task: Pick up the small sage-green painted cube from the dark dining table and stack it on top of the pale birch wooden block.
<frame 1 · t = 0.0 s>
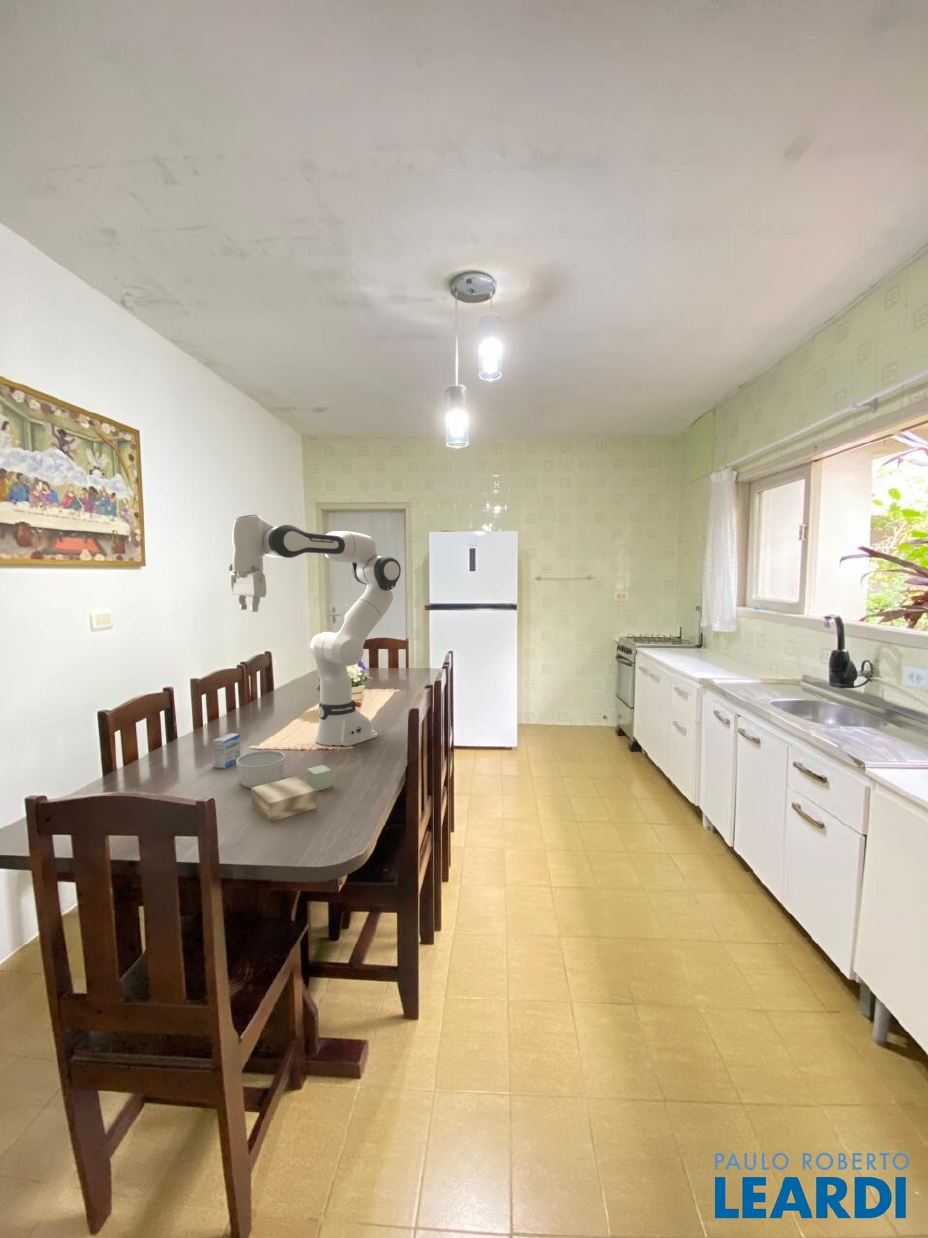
hand: (248, 610, 163), 48 cm above the table, fingers open, 8 cm apart
medicine box: (226, 764, 162), on the table
ramekin: (261, 781, 150), on the table
sage cube: (319, 786, 147), on the table
birch block: (283, 807, 134), on the table
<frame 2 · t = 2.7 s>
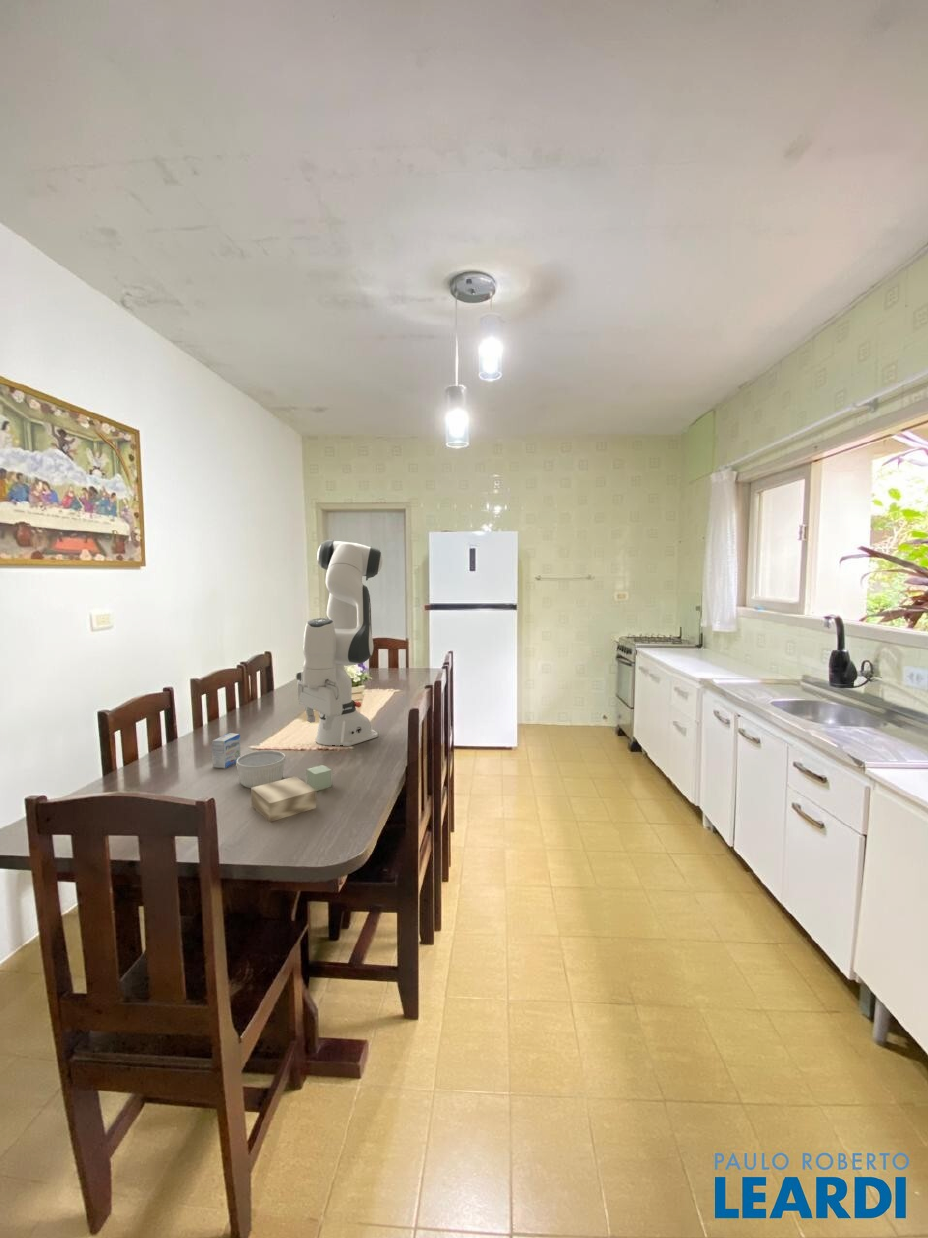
hand: (319, 725, 145), 18 cm above the table, fingers open, 8 cm apart
nothing on the table moved.
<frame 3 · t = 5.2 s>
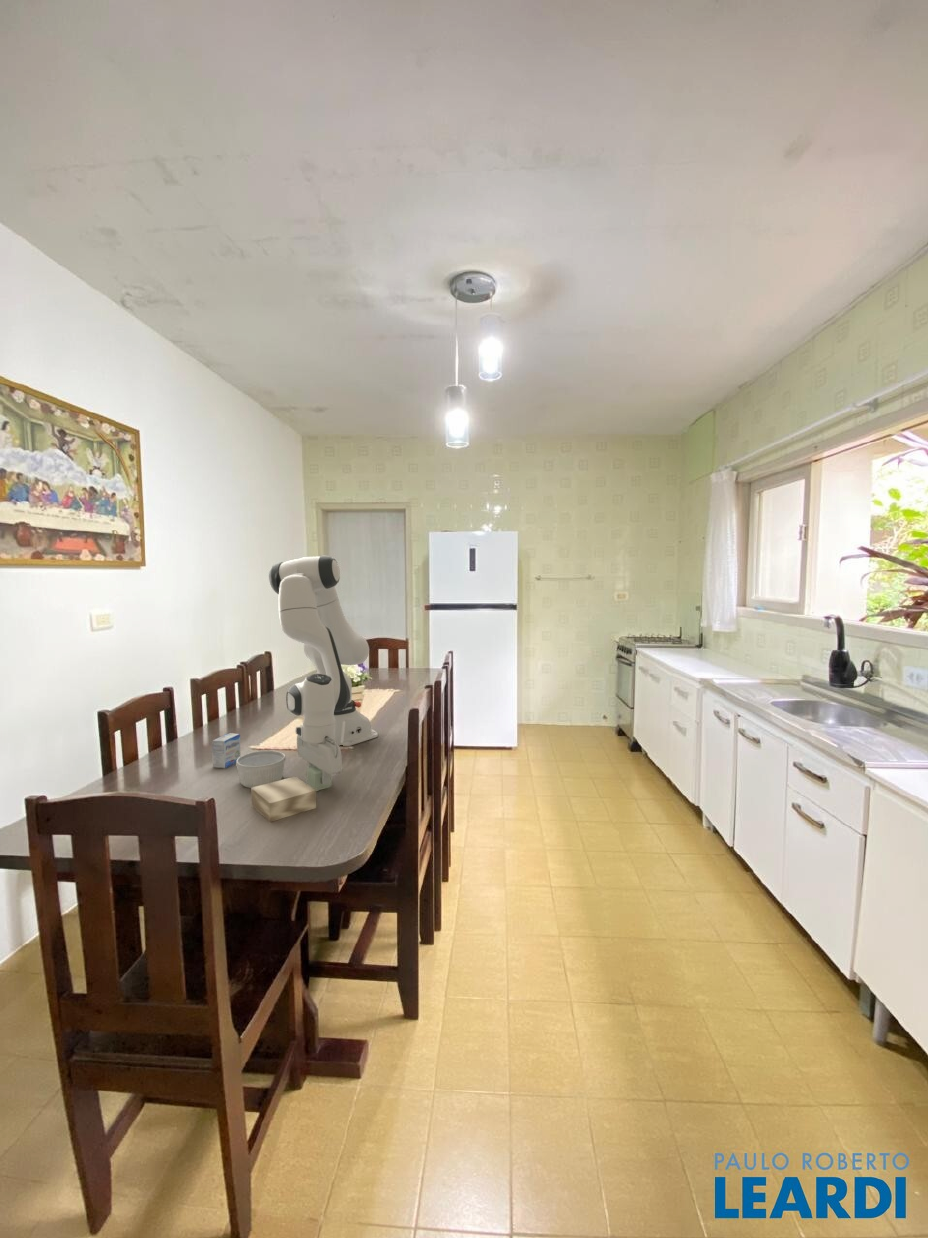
hand: (319, 780, 147), 2 cm above the table, fingers closed on sage cube, 5 cm apart
sage cube: (319, 786, 147), on the table, touching gripper
everything else where it was.
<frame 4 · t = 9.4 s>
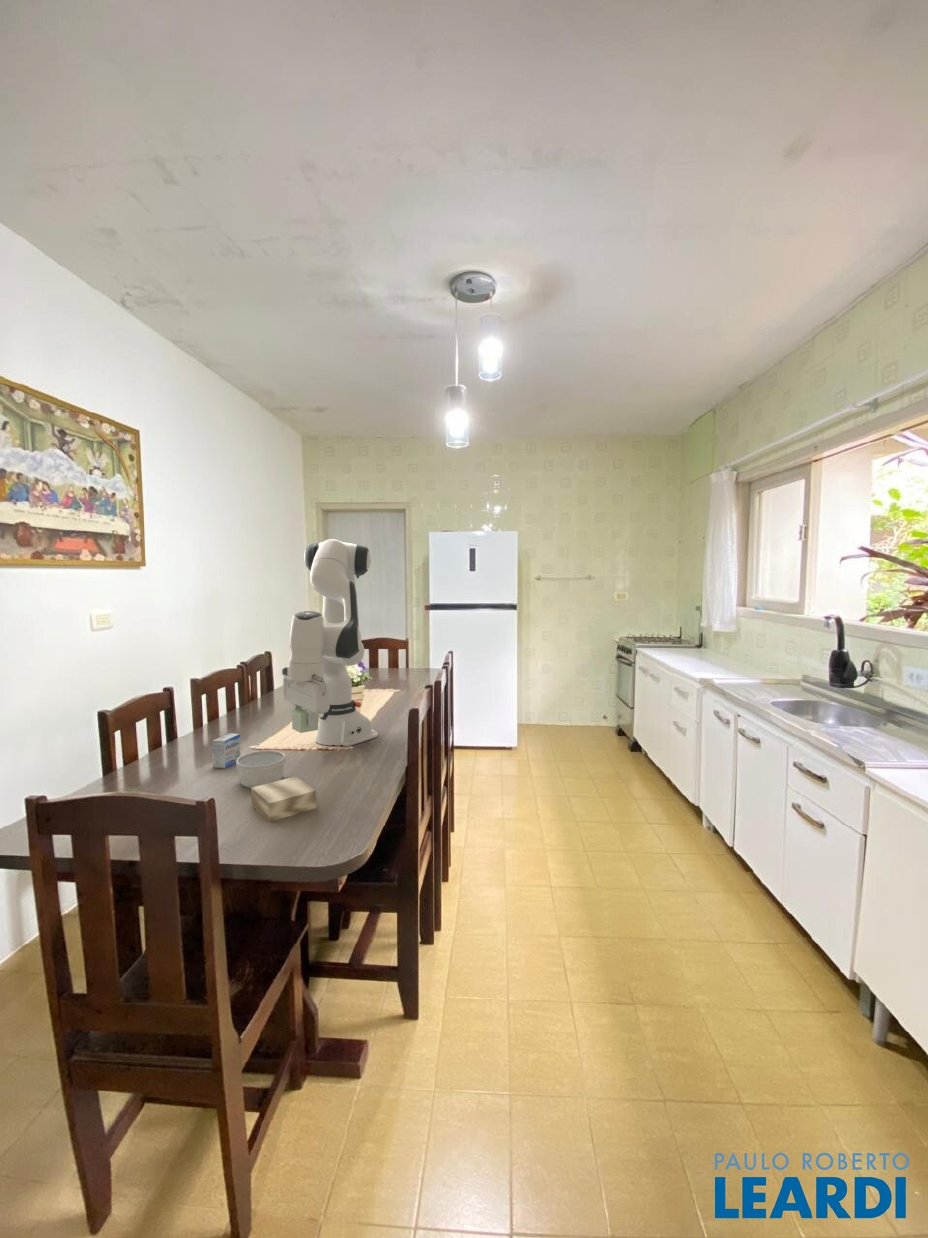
hand: (305, 723, 139), 20 cm above the table, fingers closed on sage cube, 5 cm apart
sage cube: (305, 729, 139), point 18 cm above the table, touching gripper
everything else where it was.
when the fingers open (8 cm above the table, at t = 13.5 s): sage cube drops 2 cm, point 5 cm above the table.
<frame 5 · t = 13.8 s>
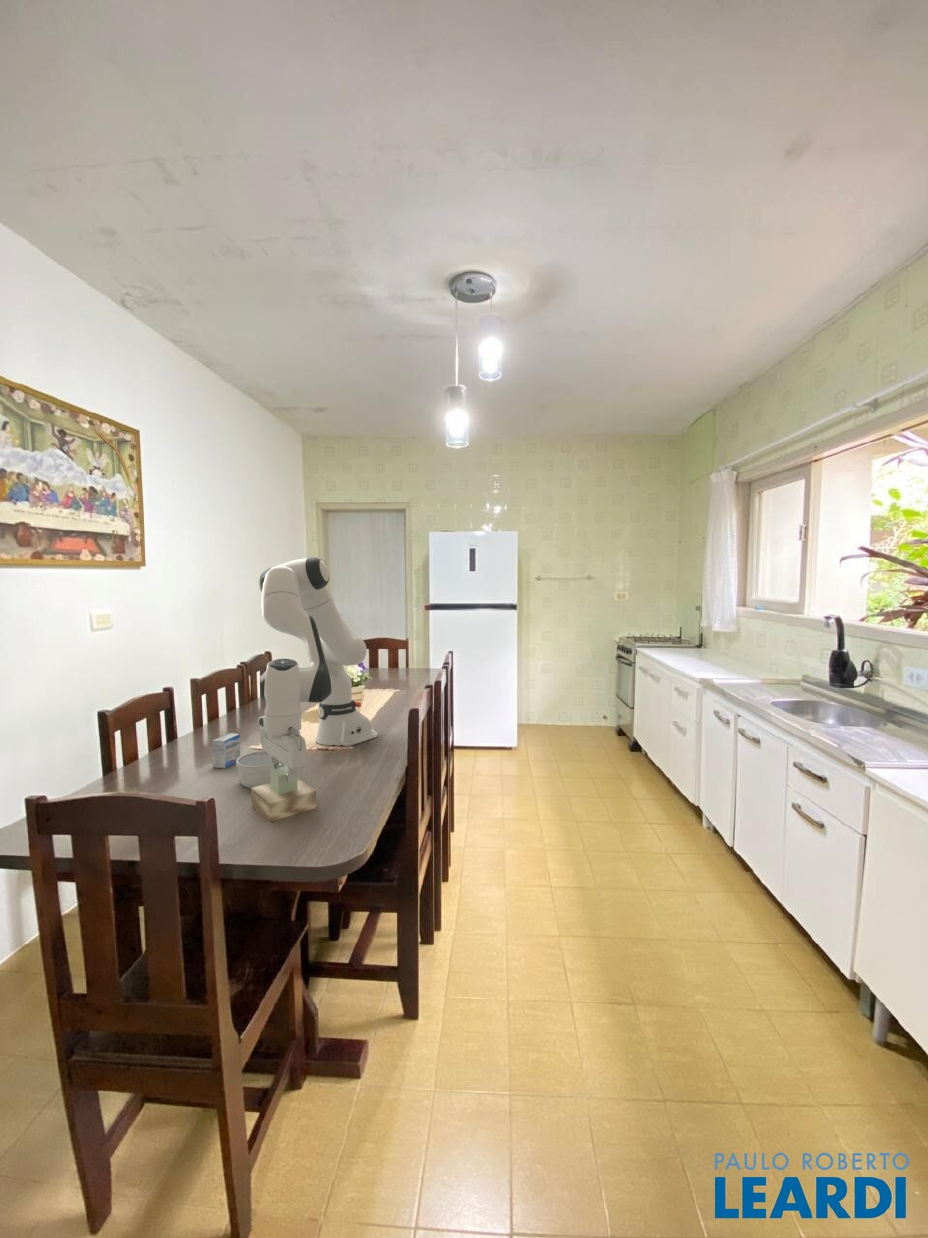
hand: (283, 776, 133), 8 cm above the table, fingers open, 7 cm apart
sage cube: (283, 789, 133), point 5 cm above the table
everything else where it was.
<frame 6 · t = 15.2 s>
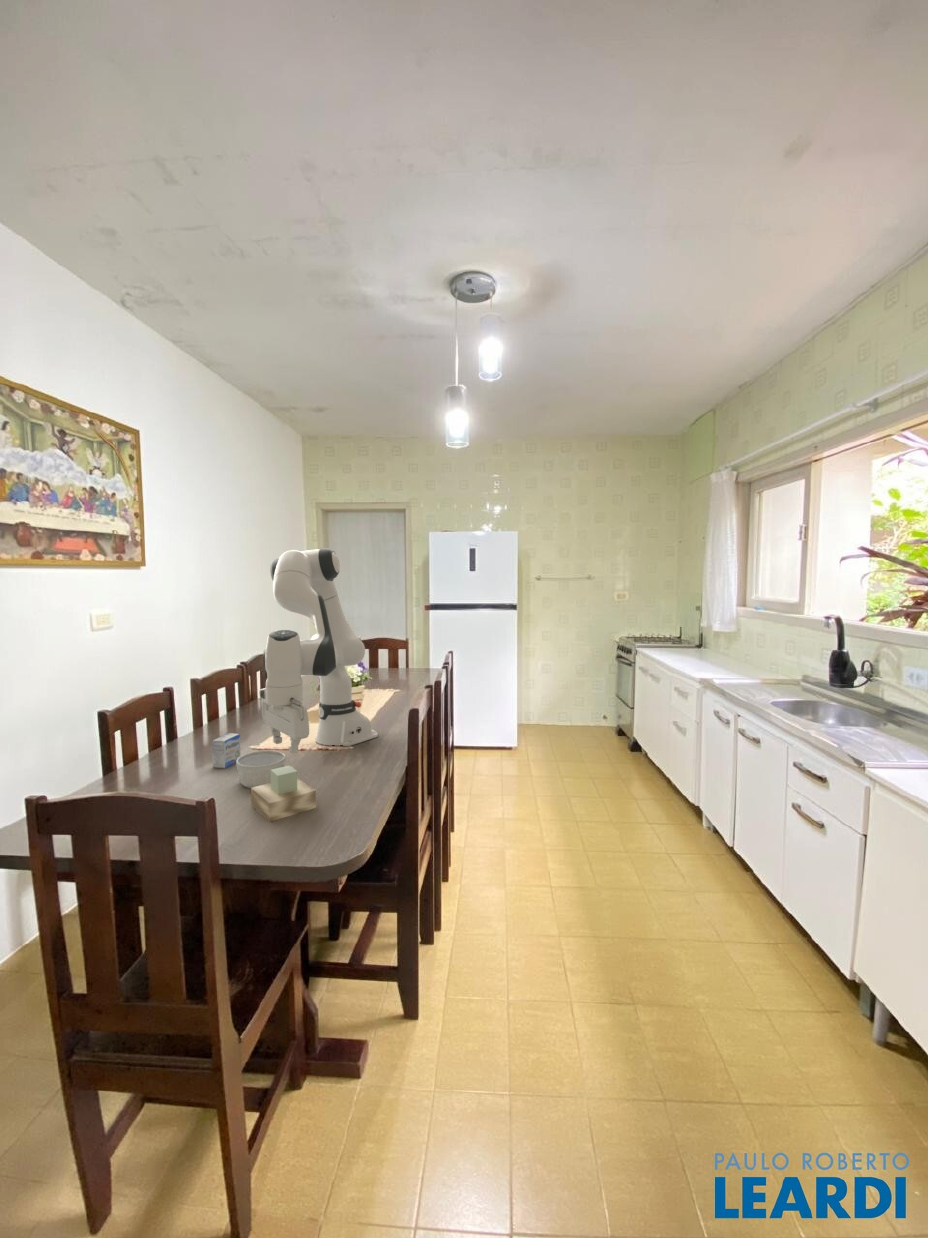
hand: (285, 747, 132), 15 cm above the table, fingers open, 8 cm apart
sage cube: (284, 789, 133), point 5 cm above the table, touching birch block
birch block: (283, 807, 134), on the table, touching sage cube
everything else where it was.
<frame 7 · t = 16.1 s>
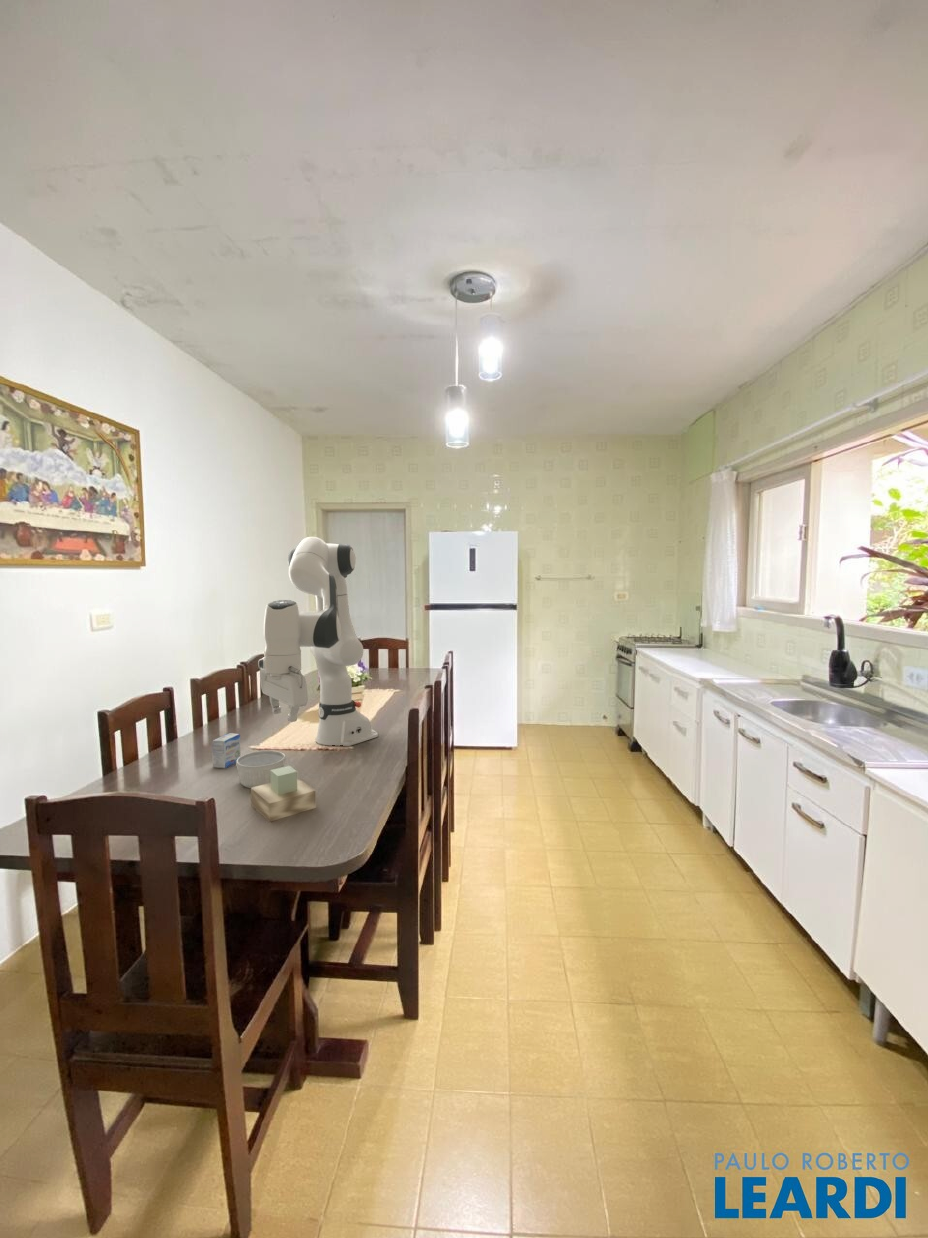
hand: (284, 717, 133), 23 cm above the table, fingers open, 8 cm apart
nothing on the table moved.
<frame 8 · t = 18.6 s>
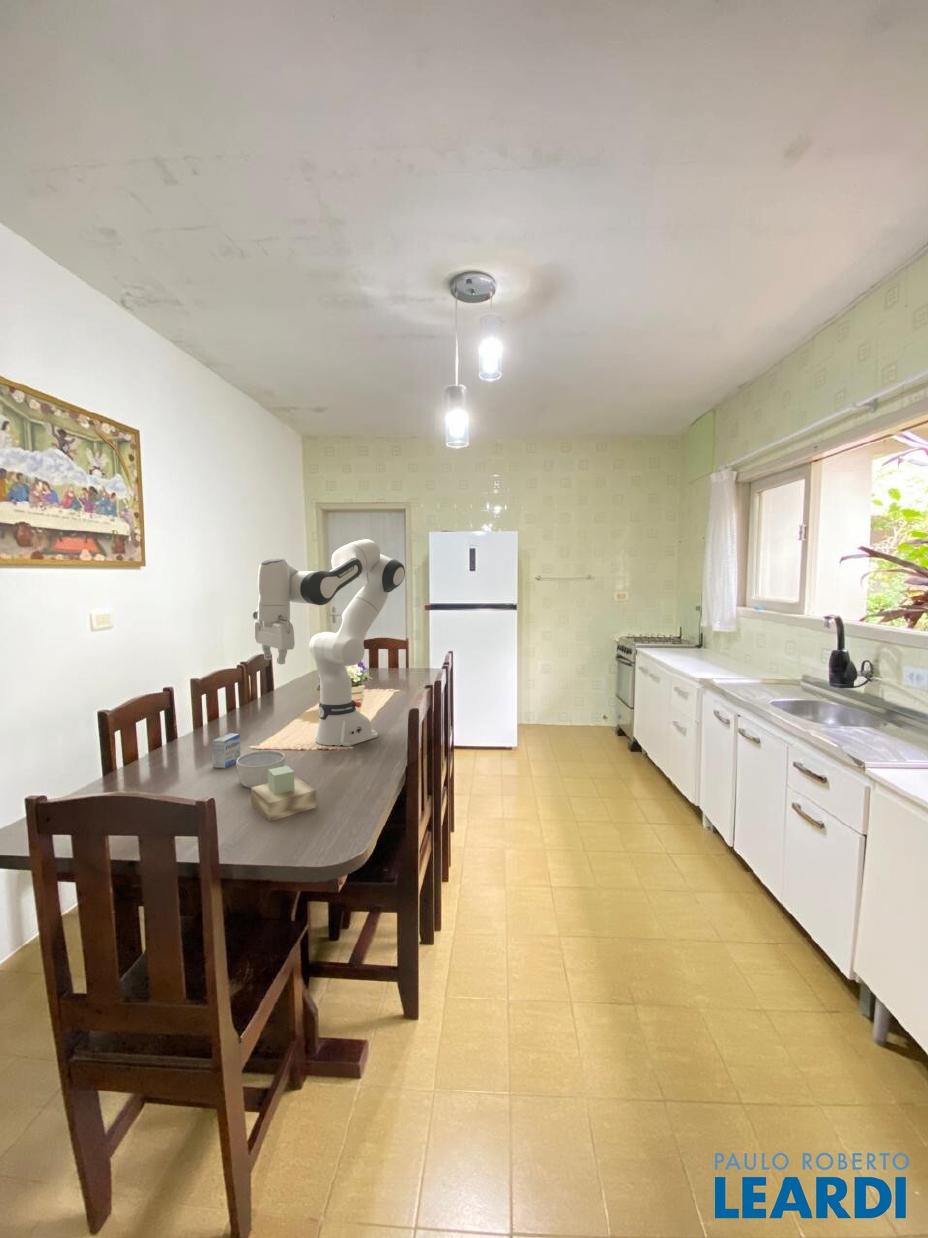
hand: (274, 661, 152), 34 cm above the table, fingers open, 8 cm apart
nothing on the table moved.
at the end: sage cube inside the target area on the birch block (0.5 cm from its centre), point 5.0 cm above the birch block's base; sage cube tilted 0°; the gripper is holding nothing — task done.
